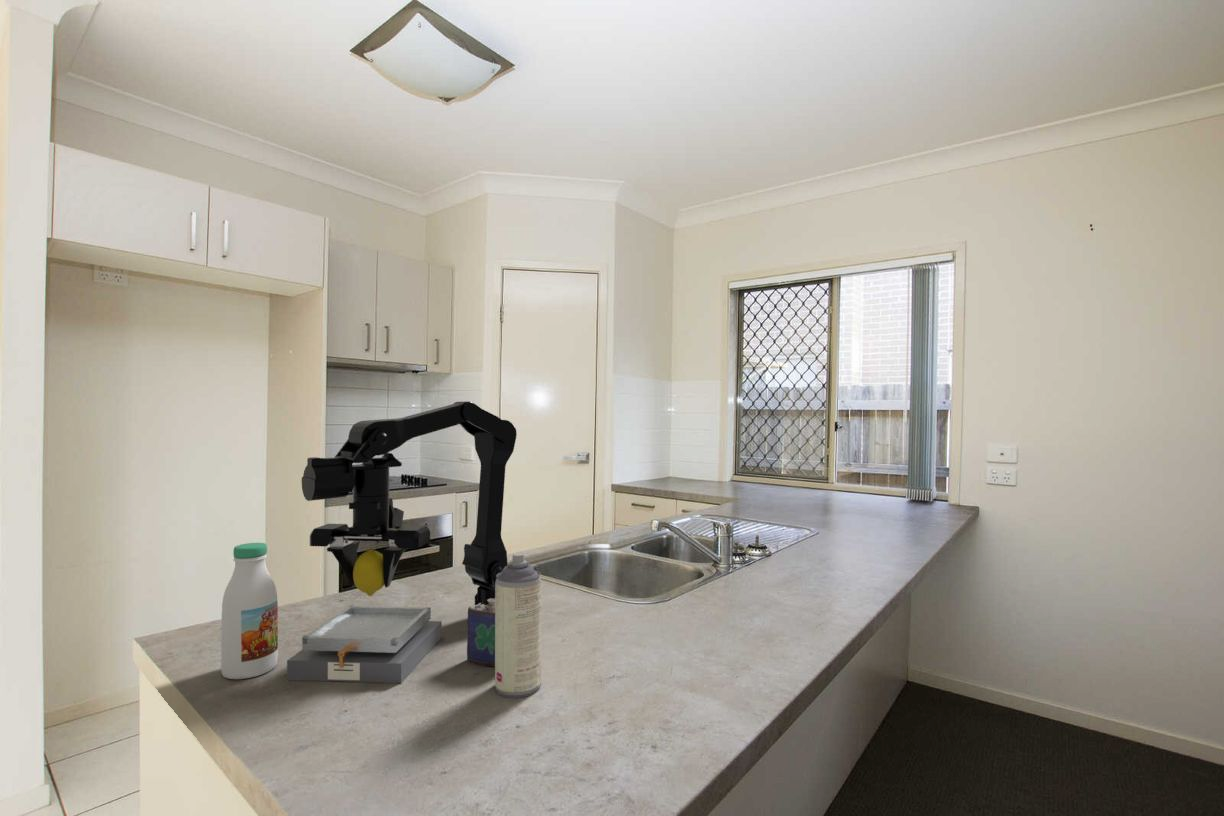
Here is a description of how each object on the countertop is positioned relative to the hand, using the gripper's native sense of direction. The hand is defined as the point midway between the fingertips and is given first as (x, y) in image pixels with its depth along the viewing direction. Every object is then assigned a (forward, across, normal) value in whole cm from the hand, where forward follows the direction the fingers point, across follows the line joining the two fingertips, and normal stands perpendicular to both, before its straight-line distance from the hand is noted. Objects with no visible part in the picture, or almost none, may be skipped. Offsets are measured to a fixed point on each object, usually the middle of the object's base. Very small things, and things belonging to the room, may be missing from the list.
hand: (370, 586), depth 101 cm
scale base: (+12, 0, +1) cm, 12 cm away
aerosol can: (+12, -28, +9) cm, 31 cm away
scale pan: (+9, -1, +2) cm, 9 cm away
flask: (+12, -22, +2) cm, 25 cm away
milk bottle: (+12, +16, +7) cm, 21 cm away
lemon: (+2, 0, 0) cm, 2 cm away
